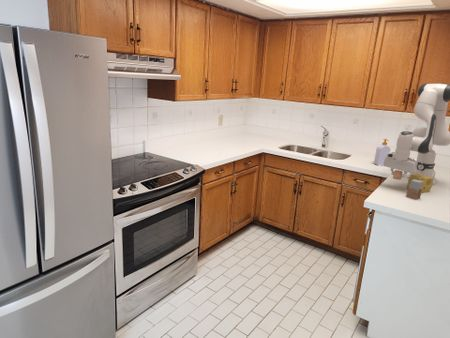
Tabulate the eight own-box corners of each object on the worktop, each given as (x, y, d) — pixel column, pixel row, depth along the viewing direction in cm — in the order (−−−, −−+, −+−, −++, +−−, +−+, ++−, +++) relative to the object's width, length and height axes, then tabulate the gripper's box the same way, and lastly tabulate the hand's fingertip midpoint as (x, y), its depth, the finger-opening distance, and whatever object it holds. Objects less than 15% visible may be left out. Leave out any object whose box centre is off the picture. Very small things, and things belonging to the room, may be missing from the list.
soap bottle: (378, 166, 276) (383, 139, 270) (373, 163, 282) (378, 138, 276) (387, 166, 277) (393, 140, 271) (382, 164, 284) (388, 138, 277)
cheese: (420, 193, 211) (423, 178, 208) (405, 187, 221) (408, 174, 218) (430, 192, 215) (434, 177, 213) (415, 186, 225) (419, 173, 222)
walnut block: (409, 195, 206) (412, 186, 205) (419, 198, 202) (422, 189, 200) (405, 196, 203) (407, 187, 201) (415, 199, 198) (418, 190, 196)
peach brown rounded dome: (395, 176, 220) (396, 169, 218) (402, 178, 216) (404, 171, 214) (391, 178, 217) (393, 170, 215) (399, 180, 213) (400, 172, 211)
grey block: (412, 186, 204) (414, 179, 202) (420, 189, 200) (422, 181, 199) (409, 187, 201) (411, 180, 199) (417, 190, 197) (419, 182, 196)
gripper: (420, 159, 206) (415, 179, 210) (388, 152, 221) (385, 171, 225) (416, 160, 202) (411, 181, 206) (384, 153, 217) (380, 172, 221)
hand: (397, 176), depth 216 cm, fingers closed on peach brown rounded dome, 5 cm apart
